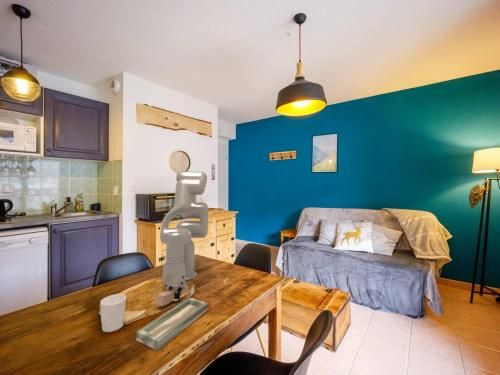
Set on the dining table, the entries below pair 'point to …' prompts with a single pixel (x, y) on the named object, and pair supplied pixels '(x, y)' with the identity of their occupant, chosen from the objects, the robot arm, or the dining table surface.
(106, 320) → the white cup
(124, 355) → the dining table surface
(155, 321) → the glass channel tray
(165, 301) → the clay strip
